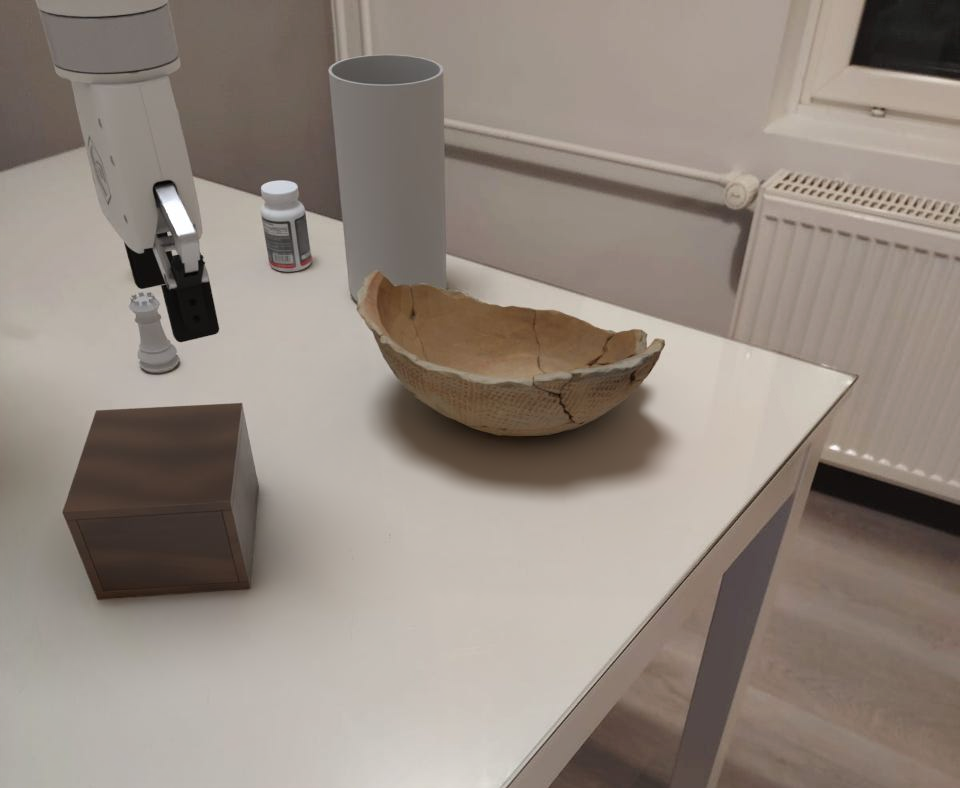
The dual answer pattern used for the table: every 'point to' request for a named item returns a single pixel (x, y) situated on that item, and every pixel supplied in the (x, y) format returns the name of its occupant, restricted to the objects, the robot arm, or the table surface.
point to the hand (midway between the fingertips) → (176, 309)
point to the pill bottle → (285, 226)
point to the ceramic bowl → (502, 358)
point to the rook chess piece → (152, 335)
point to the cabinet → (165, 501)
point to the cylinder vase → (391, 167)
